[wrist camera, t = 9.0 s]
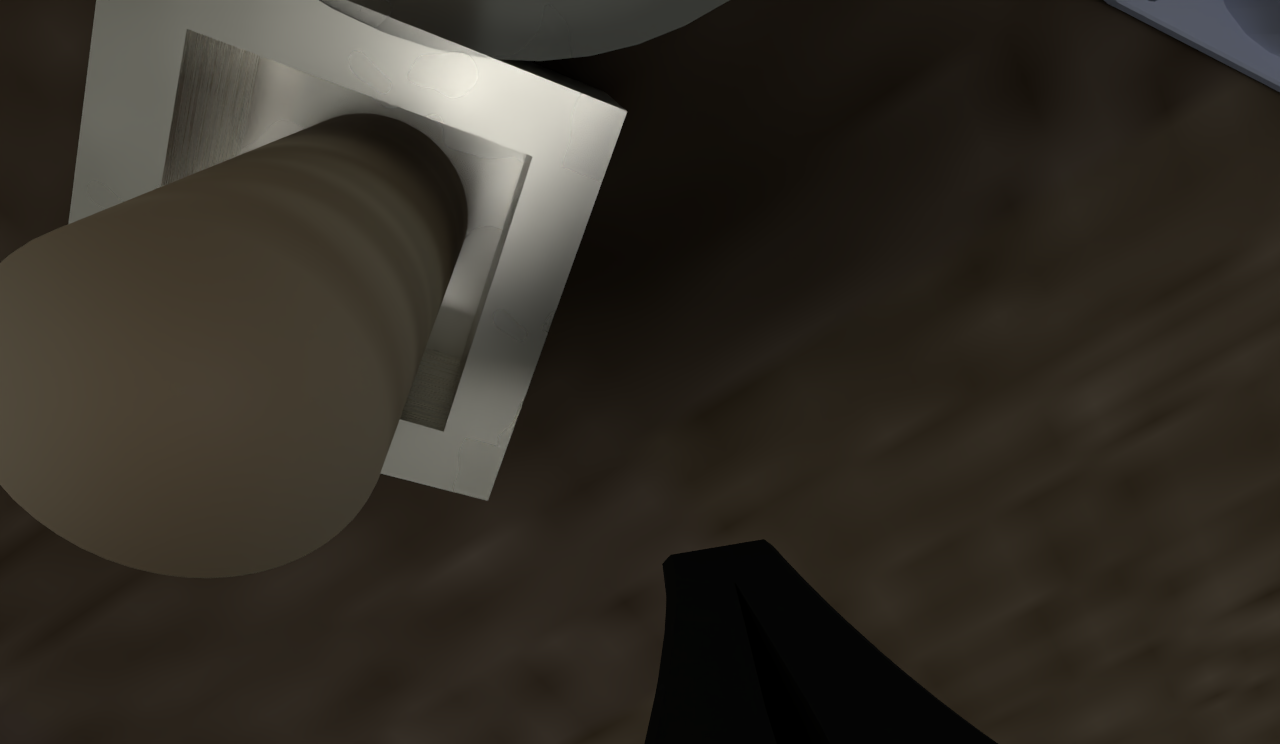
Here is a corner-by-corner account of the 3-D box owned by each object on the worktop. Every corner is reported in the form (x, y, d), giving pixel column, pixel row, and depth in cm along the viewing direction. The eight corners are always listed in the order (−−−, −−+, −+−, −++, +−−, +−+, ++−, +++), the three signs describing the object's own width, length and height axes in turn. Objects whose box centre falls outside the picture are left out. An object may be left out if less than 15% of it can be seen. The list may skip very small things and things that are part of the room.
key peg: (479, 134, 13) (405, 256, 6) (456, 311, 14) (372, 594, 7) (279, 94, 13) (-73, 175, 5) (273, 282, 14) (-24, 559, 7)
